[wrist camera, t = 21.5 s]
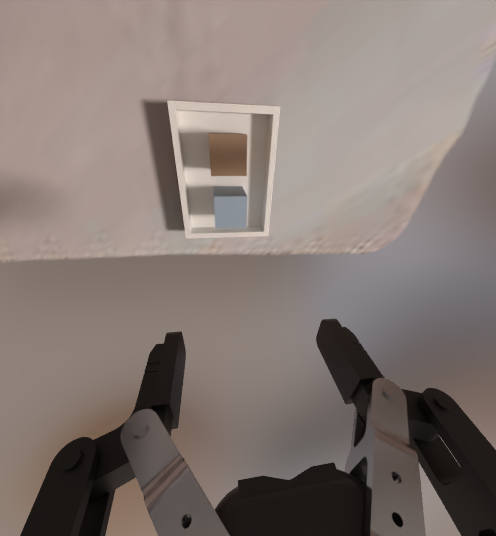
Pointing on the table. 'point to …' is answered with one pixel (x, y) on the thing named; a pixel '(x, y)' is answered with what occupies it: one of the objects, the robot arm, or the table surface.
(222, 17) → the table surface
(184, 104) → the tray
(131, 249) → the table surface
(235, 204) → the slate block
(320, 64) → the table surface
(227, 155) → the walnut block
